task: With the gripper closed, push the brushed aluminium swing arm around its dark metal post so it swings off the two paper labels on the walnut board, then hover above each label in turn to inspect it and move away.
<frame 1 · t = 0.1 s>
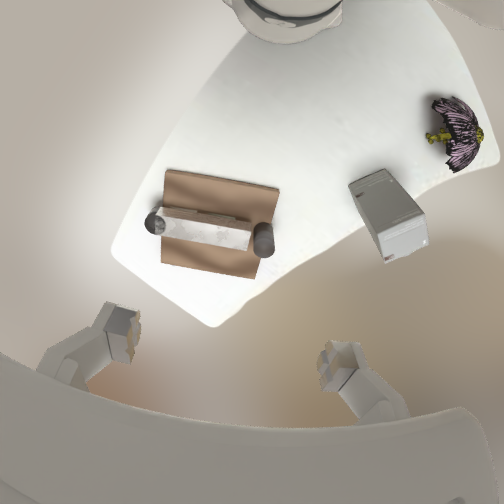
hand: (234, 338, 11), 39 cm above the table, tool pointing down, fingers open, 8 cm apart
decorative flower: (441, 125, 39), on the table
label board: (214, 226, 53), on the table
skincare box: (370, 191, 48), on the table
swing arm: (197, 227, 48), point 5 cm above the table, hinge at 0.0°
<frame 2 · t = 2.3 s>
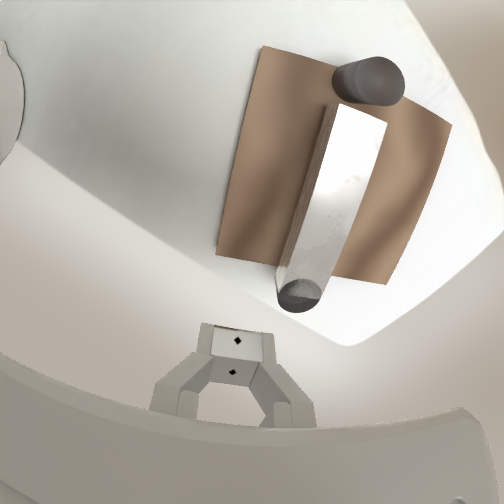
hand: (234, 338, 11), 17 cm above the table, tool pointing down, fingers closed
label board: (339, 178, 25), on the table
swing arm: (323, 218, 23), point 4 cm above the table, hinge at 0.0°
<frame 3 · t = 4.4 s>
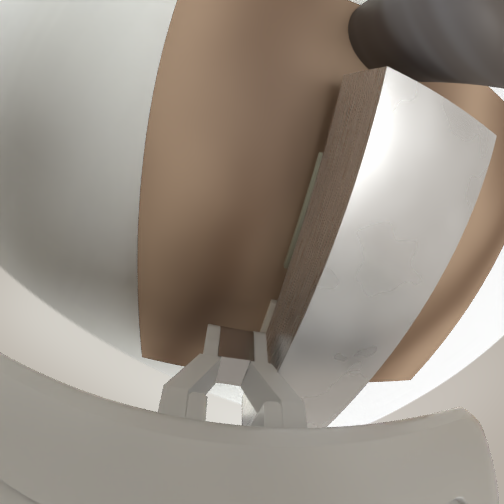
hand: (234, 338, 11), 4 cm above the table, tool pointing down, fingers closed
label board: (357, 235, 13), on the table
swing arm: (325, 340, 10), point 4 cm above the table, hinge at 1.2°, touching gripper
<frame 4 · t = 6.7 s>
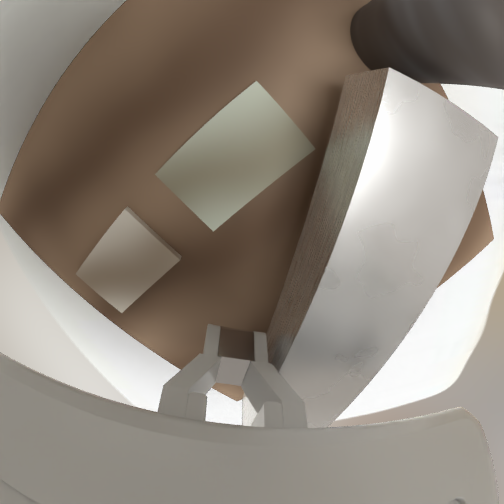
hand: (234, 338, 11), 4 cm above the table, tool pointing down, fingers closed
label board: (249, 199, 12), on the table
swing arm: (326, 341, 10), point 4 cm above the table, hinge at 37.0°, touching gripper
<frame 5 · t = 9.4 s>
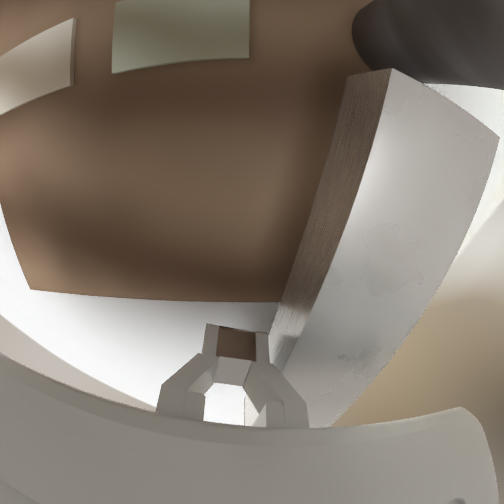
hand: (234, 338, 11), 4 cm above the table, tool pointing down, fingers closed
label board: (163, 79, 9), on the table
swing arm: (328, 341, 10), point 4 cm above the table, hinge at 78.7°, touching gripper
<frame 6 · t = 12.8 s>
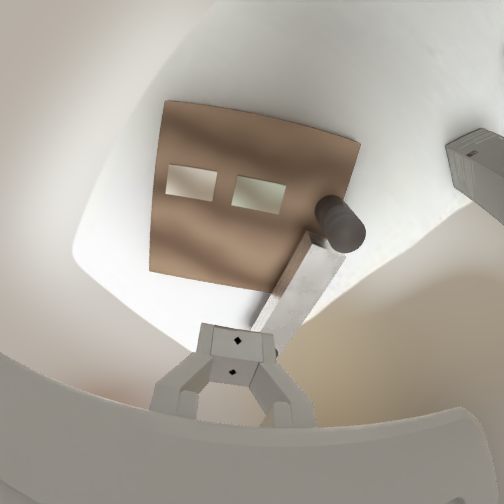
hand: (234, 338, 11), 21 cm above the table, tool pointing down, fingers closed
label board: (244, 205, 30), on the table
skincare box: (466, 159, 27), on the table
swing arm: (286, 308, 32), point 5 cm above the table, hinge at 80.0°
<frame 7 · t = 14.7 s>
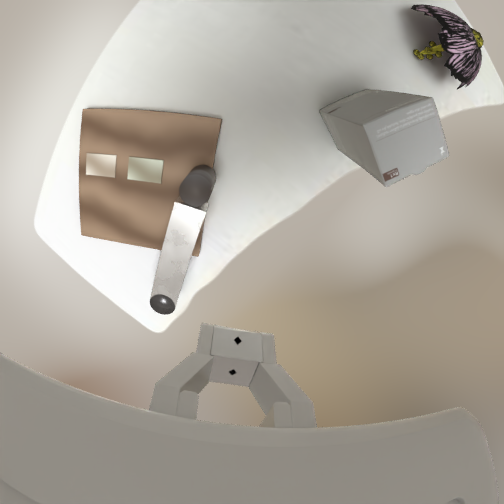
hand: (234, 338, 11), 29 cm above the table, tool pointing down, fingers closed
decorative flower: (430, 44, 26), on the table
label board: (141, 179, 37), on the table
skincare box: (351, 121, 33), on the table
swing arm: (174, 261, 38), point 5 cm above the table, hinge at 80.0°
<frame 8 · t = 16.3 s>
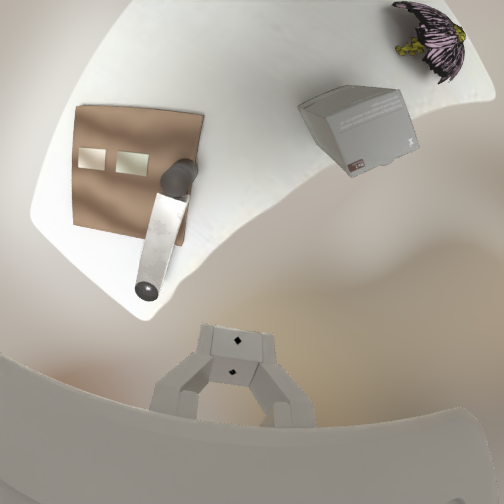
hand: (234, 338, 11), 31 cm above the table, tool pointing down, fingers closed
decorative flower: (414, 41, 27), on the table
label board: (129, 172, 38), on the table
skincare box: (330, 117, 35), on the table
swing arm: (157, 250, 40), point 5 cm above the table, hinge at 80.0°
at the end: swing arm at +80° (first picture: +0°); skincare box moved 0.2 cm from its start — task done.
